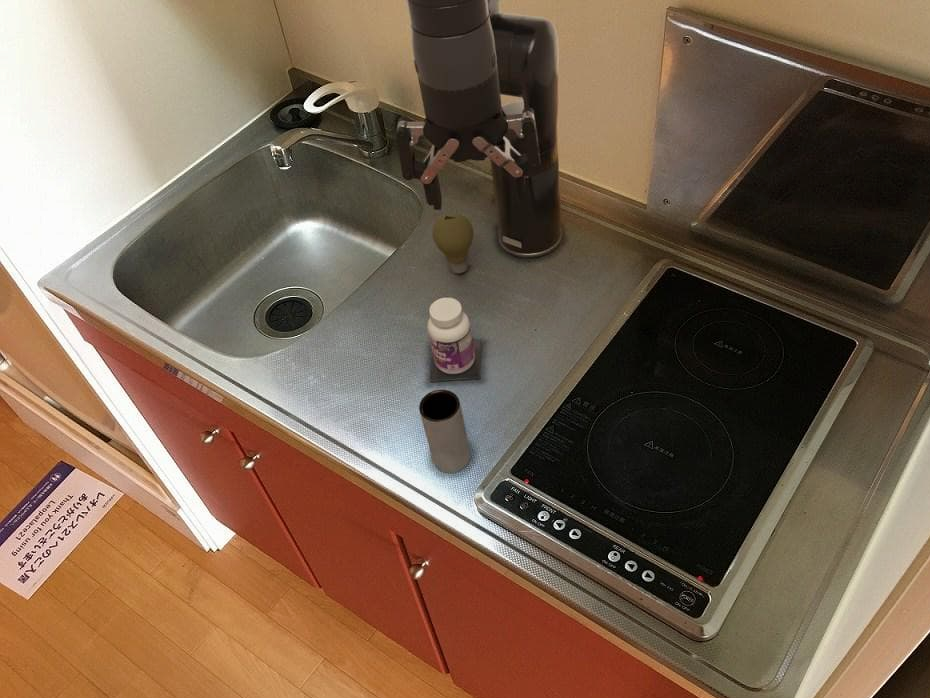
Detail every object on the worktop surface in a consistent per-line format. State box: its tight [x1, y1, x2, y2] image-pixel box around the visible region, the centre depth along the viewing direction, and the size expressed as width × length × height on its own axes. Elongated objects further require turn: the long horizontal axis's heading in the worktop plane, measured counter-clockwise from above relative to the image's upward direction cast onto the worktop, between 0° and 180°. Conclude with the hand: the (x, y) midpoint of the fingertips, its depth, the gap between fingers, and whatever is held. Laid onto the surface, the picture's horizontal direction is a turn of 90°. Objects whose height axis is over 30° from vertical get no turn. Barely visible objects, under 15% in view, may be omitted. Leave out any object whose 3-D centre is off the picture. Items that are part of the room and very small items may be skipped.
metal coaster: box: [429, 339, 482, 383], centre depth 107 cm, size 6×6×1 cm
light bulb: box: [432, 211, 474, 274], centre depth 114 cm, size 6×6×10 cm
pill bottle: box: [426, 297, 475, 374], centre depth 103 cm, size 5×5×10 cm
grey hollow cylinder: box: [418, 389, 472, 474], centre depth 94 cm, size 4×4×10 cm
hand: (477, 202), depth 89 cm, fingers open, 8 cm apart
